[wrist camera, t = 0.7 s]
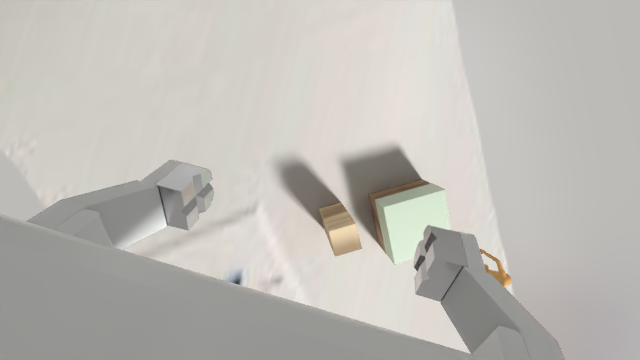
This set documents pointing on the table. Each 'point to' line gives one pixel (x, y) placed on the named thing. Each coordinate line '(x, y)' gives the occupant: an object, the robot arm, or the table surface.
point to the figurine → (500, 275)
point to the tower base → (387, 193)
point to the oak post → (340, 229)
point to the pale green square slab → (410, 219)
